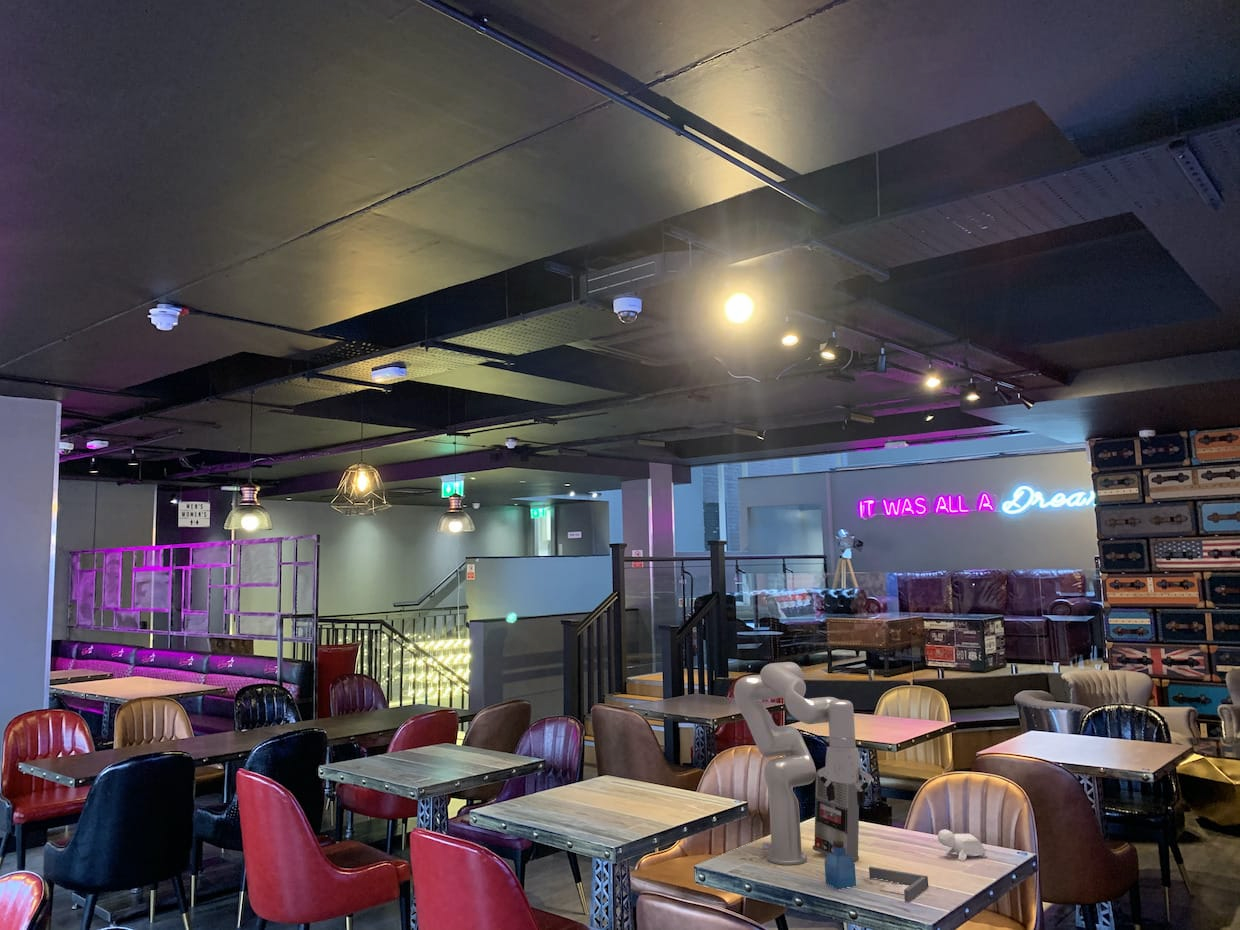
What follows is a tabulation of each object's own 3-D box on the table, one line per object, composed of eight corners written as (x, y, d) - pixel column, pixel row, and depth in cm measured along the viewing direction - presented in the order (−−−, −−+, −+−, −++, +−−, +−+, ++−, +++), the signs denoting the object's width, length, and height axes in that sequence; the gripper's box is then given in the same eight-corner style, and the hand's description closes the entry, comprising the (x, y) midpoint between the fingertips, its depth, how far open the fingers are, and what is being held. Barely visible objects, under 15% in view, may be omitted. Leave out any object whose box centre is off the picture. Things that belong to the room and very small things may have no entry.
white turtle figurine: (969, 861, 284) (928, 847, 282) (975, 835, 286) (935, 821, 284) (984, 869, 276) (943, 854, 274) (991, 842, 278) (950, 827, 276)
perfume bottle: (838, 889, 252) (835, 846, 254) (825, 883, 258) (823, 840, 260) (856, 886, 255) (853, 843, 256) (843, 880, 260) (840, 838, 262)
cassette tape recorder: (812, 850, 287) (813, 772, 288) (824, 846, 290) (826, 769, 292) (846, 864, 276) (847, 783, 277) (858, 860, 279) (860, 780, 281)
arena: (850, 891, 251) (849, 879, 251) (871, 877, 263) (870, 866, 263) (909, 902, 240) (908, 890, 241) (928, 887, 252) (927, 876, 252)
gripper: (810, 741, 265) (813, 801, 263) (863, 747, 254) (867, 809, 251) (822, 738, 271) (826, 796, 268) (875, 743, 259) (879, 804, 257)
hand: (846, 802), depth 260 cm, fingers open, 9 cm apart
